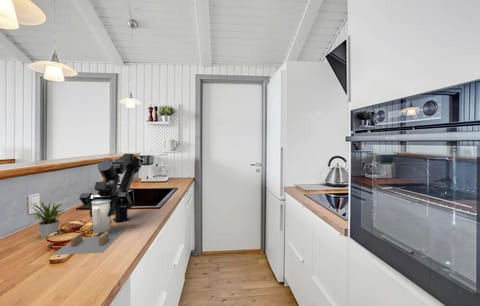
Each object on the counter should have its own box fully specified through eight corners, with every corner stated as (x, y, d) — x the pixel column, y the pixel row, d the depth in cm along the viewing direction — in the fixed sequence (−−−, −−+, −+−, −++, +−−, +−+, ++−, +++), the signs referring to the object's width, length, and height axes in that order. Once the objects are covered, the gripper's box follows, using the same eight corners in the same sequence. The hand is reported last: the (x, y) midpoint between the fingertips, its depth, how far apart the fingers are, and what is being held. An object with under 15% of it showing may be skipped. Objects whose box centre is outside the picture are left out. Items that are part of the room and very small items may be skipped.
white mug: (96, 227, 104) (96, 199, 103) (113, 226, 105) (113, 198, 104) (86, 235, 95) (85, 204, 95) (104, 234, 96) (104, 203, 95)
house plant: (13, 246, 91) (11, 202, 90) (33, 233, 104) (32, 195, 104) (58, 242, 95) (57, 200, 94) (72, 230, 108) (71, 193, 108)
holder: (87, 232, 105) (87, 223, 105) (126, 231, 107) (126, 221, 107) (51, 258, 81) (51, 245, 81) (103, 255, 83) (102, 243, 83)
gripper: (80, 174, 103) (66, 207, 92) (127, 173, 105) (118, 205, 94) (90, 189, 111) (78, 221, 100) (133, 188, 113) (126, 219, 103)
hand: (99, 216), depth 99 cm, fingers closed on white mug, 6 cm apart
